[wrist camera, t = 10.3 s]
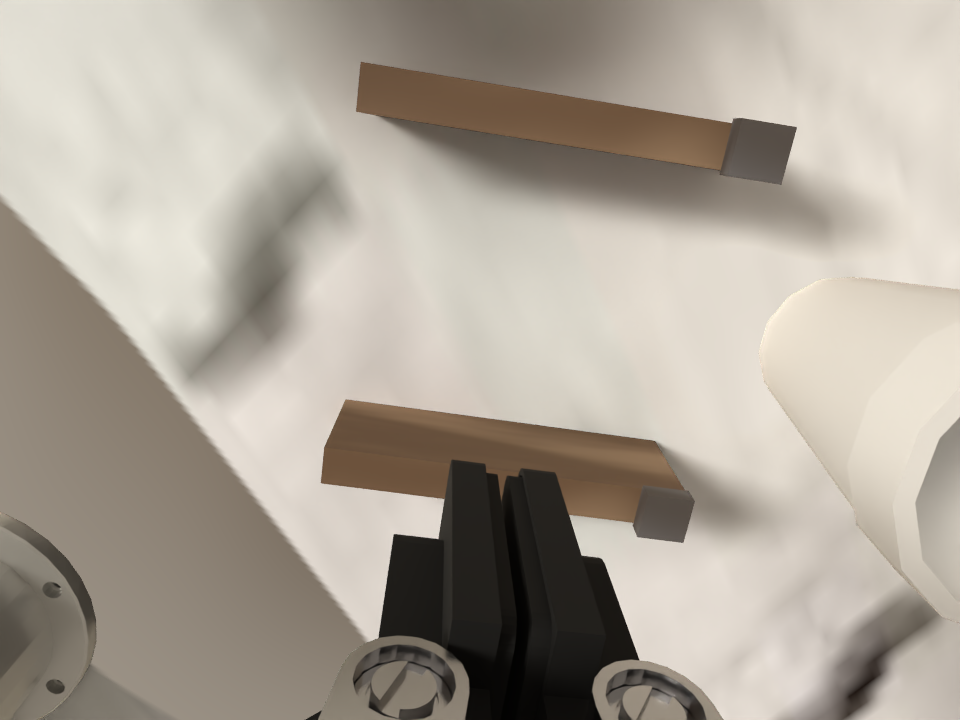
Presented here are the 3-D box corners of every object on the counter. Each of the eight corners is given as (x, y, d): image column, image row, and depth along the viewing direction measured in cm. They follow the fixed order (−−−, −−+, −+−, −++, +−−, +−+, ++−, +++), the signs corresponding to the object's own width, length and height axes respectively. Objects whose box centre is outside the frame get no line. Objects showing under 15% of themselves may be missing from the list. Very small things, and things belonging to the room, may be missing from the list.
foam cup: (680, 340, 31) (825, 481, 19) (859, 192, 29) (1151, 237, 17) (805, 484, 33) (1008, 694, 21) (978, 354, 31) (1312, 500, 19)
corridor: (646, 473, 33) (683, 542, 27) (342, 433, 32) (316, 496, 26) (731, 127, 28) (796, 127, 23) (379, 69, 27) (357, 54, 22)
